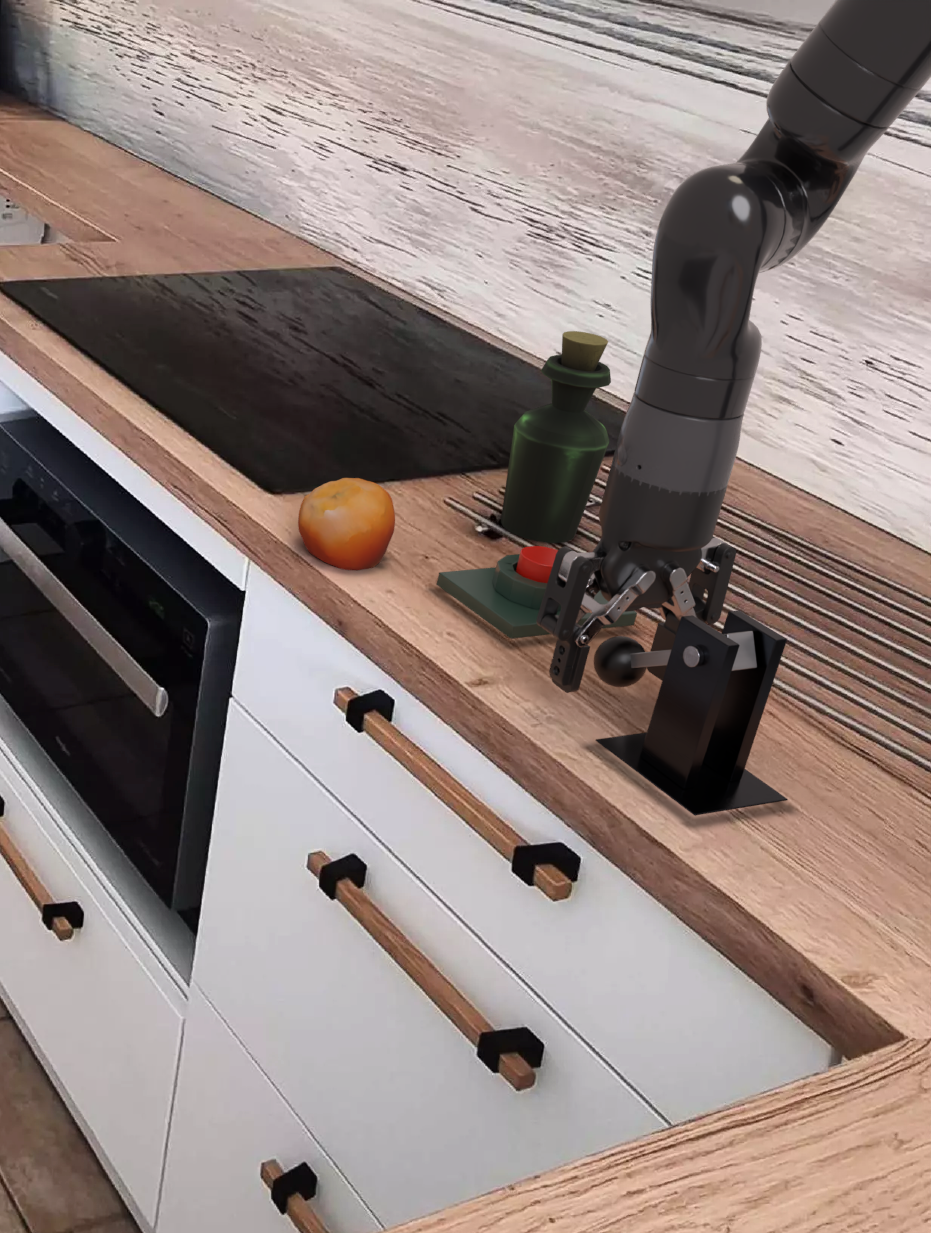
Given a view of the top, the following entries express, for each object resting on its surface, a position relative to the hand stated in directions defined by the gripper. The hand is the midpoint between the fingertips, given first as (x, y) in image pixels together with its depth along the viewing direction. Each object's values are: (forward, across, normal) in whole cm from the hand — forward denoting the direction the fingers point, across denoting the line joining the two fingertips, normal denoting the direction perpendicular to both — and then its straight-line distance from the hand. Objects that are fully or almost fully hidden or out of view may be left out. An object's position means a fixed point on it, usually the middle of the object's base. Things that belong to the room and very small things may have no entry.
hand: (612, 681), depth 127 cm
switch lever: (-3, 0, -5) cm, 6 cm away
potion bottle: (+3, +18, +31) cm, 36 cm away
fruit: (+3, -4, +29) cm, 29 cm away
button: (-1, +6, +16) cm, 17 cm away
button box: (+3, +6, +16) cm, 17 cm away
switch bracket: (+3, 0, -9) cm, 10 cm away
